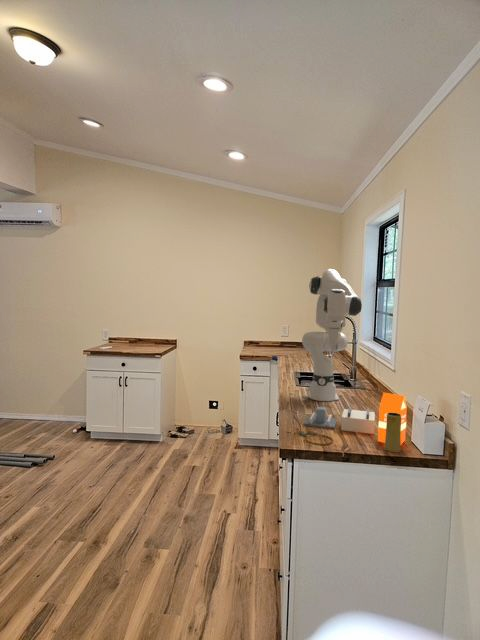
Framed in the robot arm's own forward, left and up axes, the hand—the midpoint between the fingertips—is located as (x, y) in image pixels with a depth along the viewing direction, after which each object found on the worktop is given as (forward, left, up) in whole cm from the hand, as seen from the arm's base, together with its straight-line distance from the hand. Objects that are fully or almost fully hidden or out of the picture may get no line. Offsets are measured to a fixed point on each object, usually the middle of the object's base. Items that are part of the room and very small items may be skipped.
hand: (334, 351), depth 202 cm
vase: (+33, +27, -34) cm, 54 cm away
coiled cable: (+32, -3, -34) cm, 47 cm away
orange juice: (+23, +27, -34) cm, 49 cm away
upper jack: (+9, +13, -33) cm, 37 cm away
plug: (+9, -4, -32) cm, 34 cm away
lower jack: (+9, -4, -33) cm, 35 cm away
